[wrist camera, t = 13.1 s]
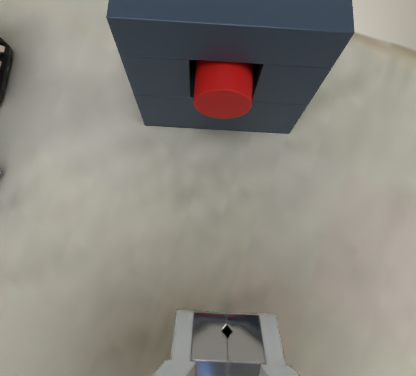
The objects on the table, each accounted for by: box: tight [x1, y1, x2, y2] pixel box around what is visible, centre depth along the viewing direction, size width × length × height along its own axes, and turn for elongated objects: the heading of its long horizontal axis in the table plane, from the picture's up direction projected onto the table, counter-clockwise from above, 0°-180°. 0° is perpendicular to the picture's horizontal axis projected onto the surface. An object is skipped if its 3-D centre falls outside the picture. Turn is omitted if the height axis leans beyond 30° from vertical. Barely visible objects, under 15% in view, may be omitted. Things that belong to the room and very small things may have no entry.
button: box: [193, 60, 253, 119], centre depth 21 cm, size 3×4×4 cm
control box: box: [106, 0, 354, 134], centre depth 23 cm, size 7×12×12 cm, turn 87°
